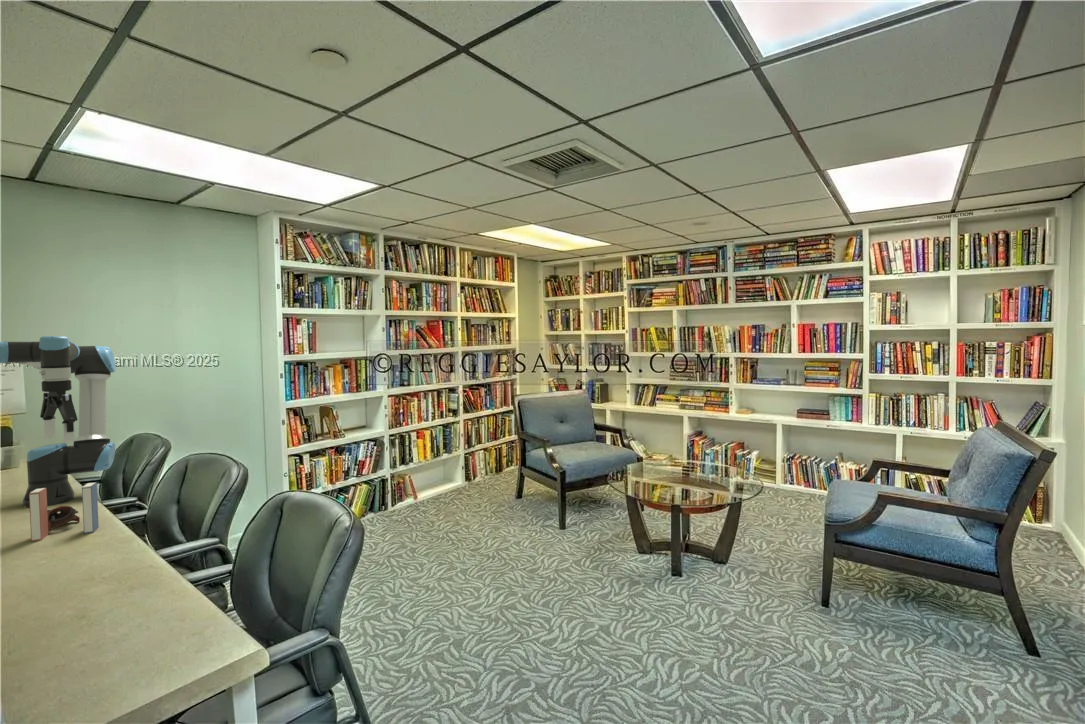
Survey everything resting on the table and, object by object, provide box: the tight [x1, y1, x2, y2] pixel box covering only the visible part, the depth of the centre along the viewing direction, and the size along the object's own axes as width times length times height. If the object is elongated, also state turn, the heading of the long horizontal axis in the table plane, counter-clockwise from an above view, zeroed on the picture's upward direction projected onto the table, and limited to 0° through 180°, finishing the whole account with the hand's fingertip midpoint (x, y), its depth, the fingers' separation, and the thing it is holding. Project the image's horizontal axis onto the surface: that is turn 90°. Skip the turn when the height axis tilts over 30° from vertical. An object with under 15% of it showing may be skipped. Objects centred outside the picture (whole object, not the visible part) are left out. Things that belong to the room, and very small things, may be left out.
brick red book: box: [29, 488, 49, 542], centre depth 167 cm, size 6×2×16 cm, turn 29°
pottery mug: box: [47, 505, 81, 532], centre depth 177 cm, size 12×9×8 cm
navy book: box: [81, 481, 100, 535], centre depth 173 cm, size 6×2×16 cm, turn 29°
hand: (59, 439), depth 177 cm, fingers open, 13 cm apart
